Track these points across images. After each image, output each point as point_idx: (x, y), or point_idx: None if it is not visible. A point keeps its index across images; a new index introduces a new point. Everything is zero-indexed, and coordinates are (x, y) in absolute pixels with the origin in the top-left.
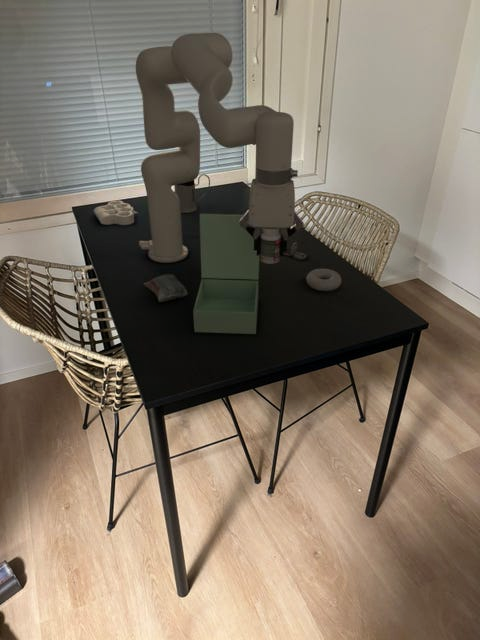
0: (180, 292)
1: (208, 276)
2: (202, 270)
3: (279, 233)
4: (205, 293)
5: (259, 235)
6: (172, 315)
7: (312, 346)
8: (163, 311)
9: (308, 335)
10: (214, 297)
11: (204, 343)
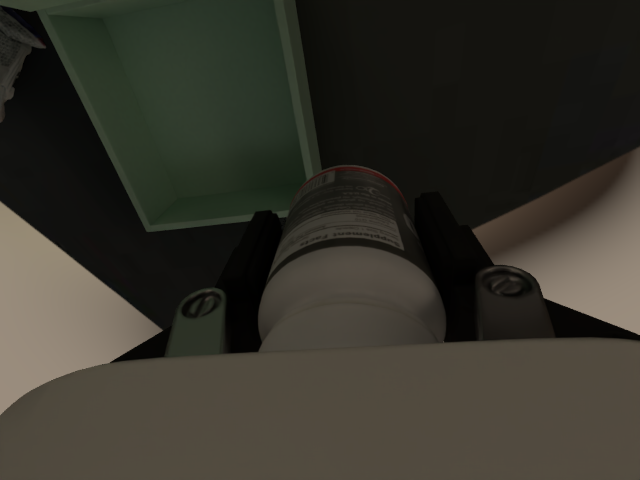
0: (17, 51)
1: (51, 4)
2: (1, 3)
3: (436, 328)
4: (95, 16)
5: (251, 324)
6: (81, 139)
7: (467, 207)
8: (45, 124)
9: (463, 163)
10: (134, 11)
11: (219, 236)
